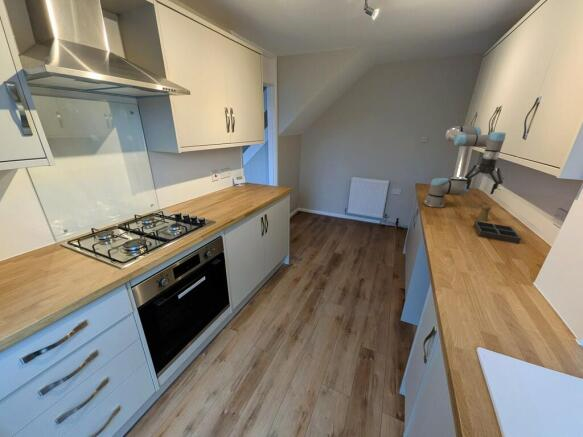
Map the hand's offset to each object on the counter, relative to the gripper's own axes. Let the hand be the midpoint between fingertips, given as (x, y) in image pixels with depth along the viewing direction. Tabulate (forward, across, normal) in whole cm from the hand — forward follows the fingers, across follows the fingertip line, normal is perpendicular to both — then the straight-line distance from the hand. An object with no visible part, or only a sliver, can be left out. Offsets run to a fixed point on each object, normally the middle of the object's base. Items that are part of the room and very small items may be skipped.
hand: (479, 191), depth 156 cm
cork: (+24, +2, +21) cm, 32 cm away
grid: (+24, +16, -2) cm, 29 cm away
